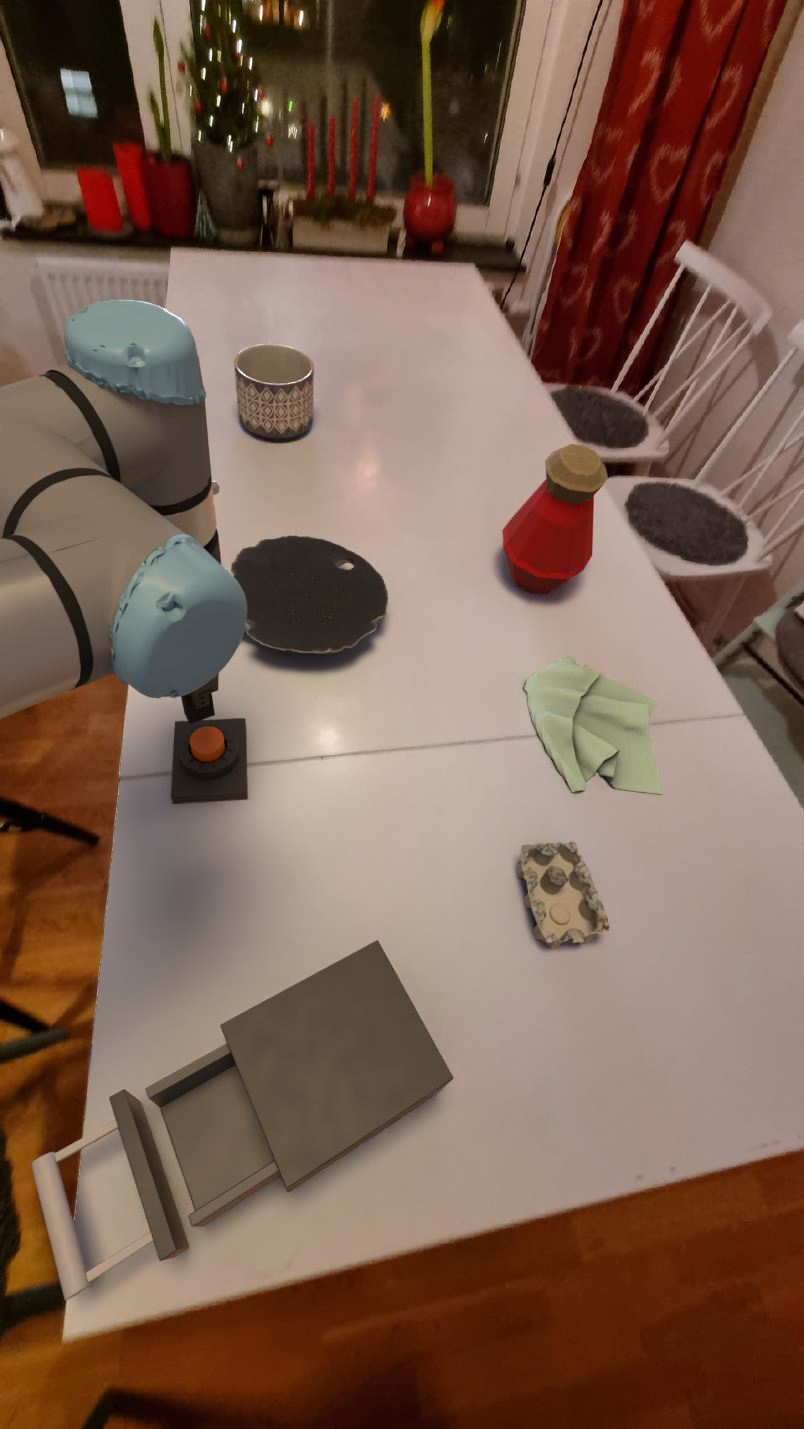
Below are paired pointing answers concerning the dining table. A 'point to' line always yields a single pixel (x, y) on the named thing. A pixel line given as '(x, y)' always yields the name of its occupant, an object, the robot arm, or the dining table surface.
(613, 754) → the cloth
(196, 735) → the button
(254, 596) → the board
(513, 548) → the bottle
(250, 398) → the planter
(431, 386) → the dining table surface
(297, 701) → the dining table surface
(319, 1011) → the grey drawer box
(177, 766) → the control block
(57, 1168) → the open sliding drawer
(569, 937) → the egg carton
